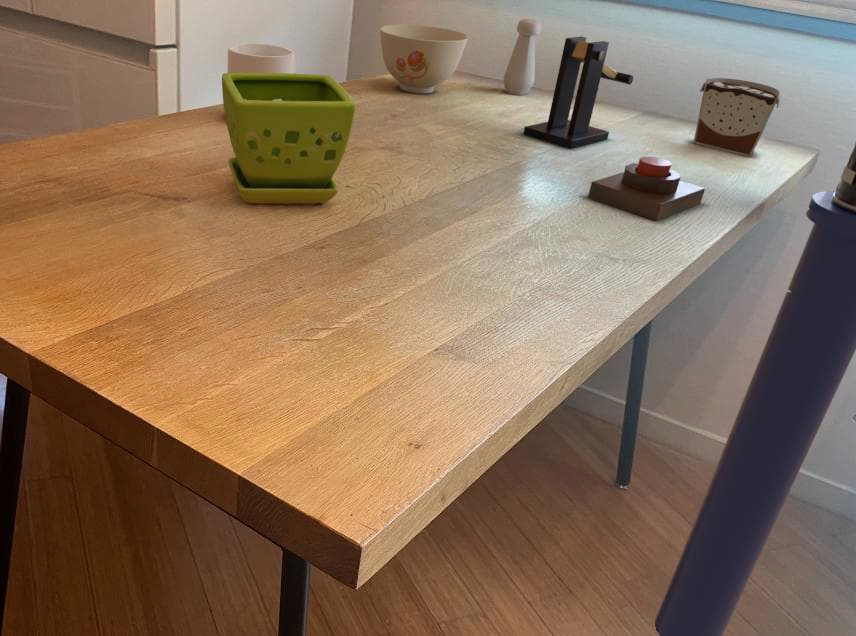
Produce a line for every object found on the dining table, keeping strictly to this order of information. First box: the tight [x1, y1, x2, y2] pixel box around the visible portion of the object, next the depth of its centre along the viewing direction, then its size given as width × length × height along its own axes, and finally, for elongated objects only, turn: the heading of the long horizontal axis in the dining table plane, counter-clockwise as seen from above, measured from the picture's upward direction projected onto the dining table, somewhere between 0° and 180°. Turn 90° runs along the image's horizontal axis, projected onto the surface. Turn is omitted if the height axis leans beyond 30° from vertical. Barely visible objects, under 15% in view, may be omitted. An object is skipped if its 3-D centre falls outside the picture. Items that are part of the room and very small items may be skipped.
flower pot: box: [221, 72, 356, 206], centre depth 104 cm, size 14×14×13 cm
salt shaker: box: [503, 18, 542, 96], centre depth 163 cm, size 6×6×13 cm
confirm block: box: [587, 163, 706, 222], centre depth 114 cm, size 12×10×4 cm
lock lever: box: [572, 41, 634, 85], centre depth 138 cm, size 14×6×2 cm, turn 132°
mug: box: [227, 43, 297, 101], centre depth 134 cm, size 13×10×10 cm
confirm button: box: [637, 156, 673, 177], centre depth 113 cm, size 4×4×2 cm
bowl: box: [379, 24, 469, 94], centre depth 159 cm, size 16×16×10 cm
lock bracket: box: [522, 35, 610, 150], centre depth 137 cm, size 11×9×15 cm
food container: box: [693, 77, 782, 158], centre depth 140 cm, size 12×6×10 cm, turn 49°
